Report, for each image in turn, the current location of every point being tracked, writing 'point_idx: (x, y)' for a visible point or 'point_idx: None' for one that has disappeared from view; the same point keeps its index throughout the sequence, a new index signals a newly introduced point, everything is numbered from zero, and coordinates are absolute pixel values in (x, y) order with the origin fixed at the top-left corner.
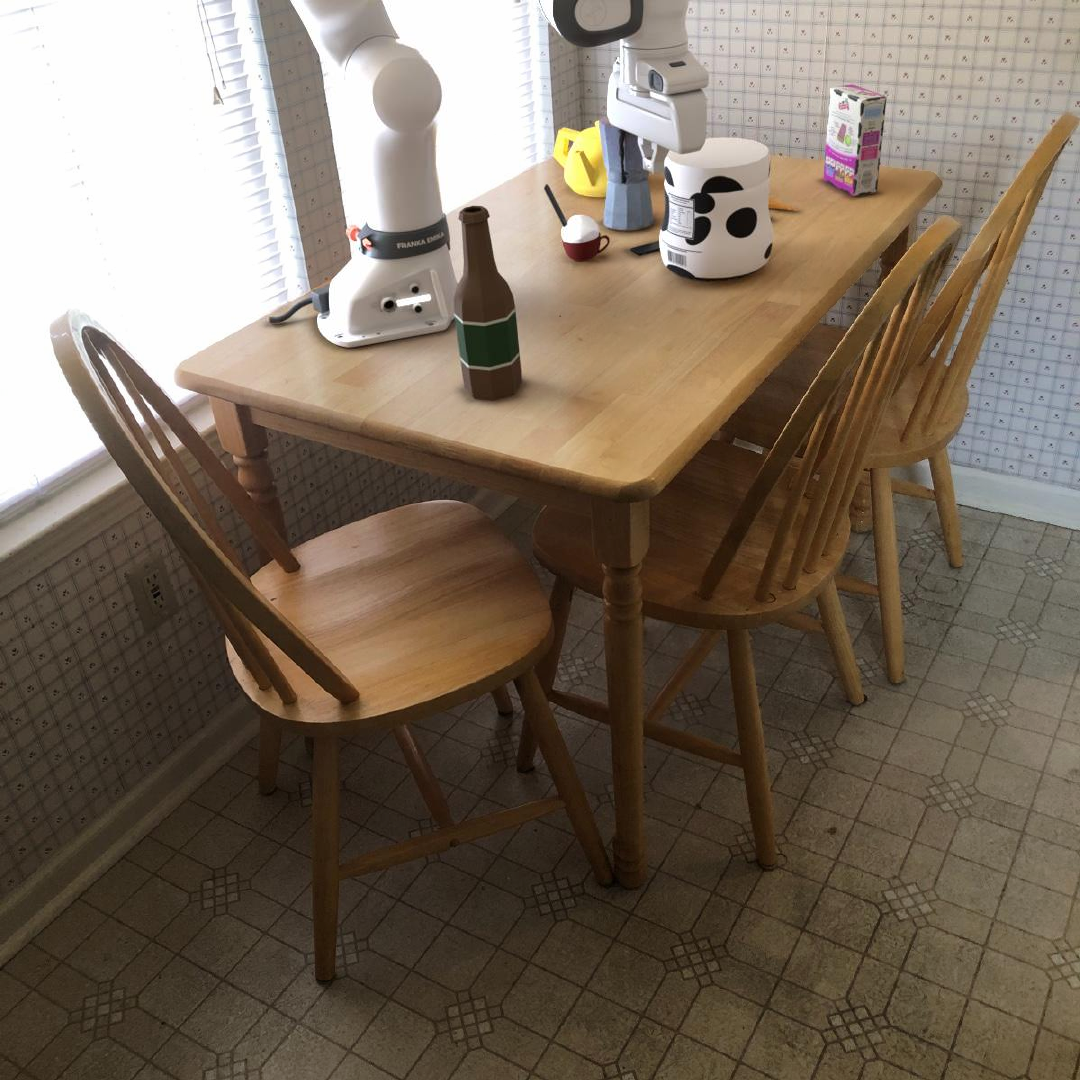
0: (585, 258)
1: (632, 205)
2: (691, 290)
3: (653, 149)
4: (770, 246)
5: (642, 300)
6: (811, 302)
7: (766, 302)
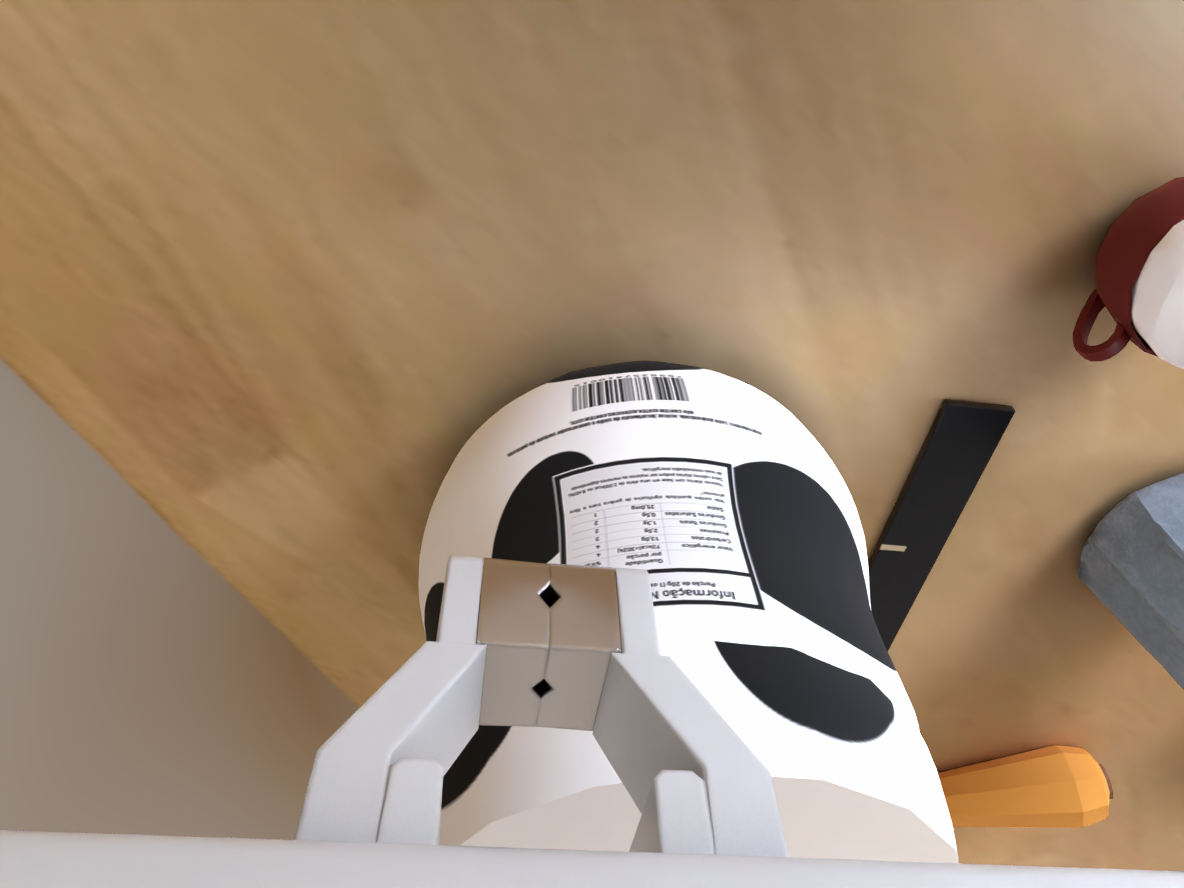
0: (1119, 217)
1: (1172, 578)
2: (541, 339)
3: (395, 759)
4: None
5: (602, 136)
6: (199, 531)
7: (279, 447)
